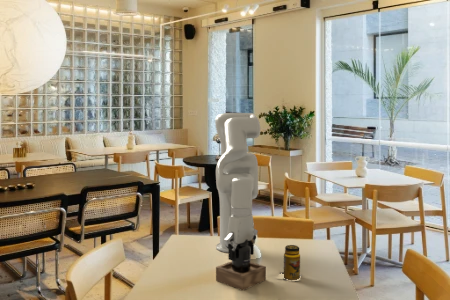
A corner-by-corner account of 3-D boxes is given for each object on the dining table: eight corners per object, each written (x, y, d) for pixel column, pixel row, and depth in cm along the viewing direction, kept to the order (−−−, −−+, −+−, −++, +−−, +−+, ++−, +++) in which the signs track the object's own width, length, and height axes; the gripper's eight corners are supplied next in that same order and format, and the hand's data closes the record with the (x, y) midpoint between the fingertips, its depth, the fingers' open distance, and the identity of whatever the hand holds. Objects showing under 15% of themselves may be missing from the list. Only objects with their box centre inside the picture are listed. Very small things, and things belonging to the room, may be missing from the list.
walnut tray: (239, 271, 191) (239, 258, 190) (265, 280, 182) (266, 266, 181) (216, 280, 181) (216, 266, 180) (242, 290, 172) (242, 276, 172)
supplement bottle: (249, 273, 177) (249, 241, 176) (230, 272, 179) (230, 240, 177) (251, 267, 184) (252, 235, 183) (233, 265, 185) (234, 234, 184)
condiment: (299, 282, 180) (299, 250, 179) (276, 279, 183) (276, 248, 181) (302, 275, 187) (302, 244, 186) (280, 272, 190) (280, 242, 188)
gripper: (249, 205, 187) (248, 249, 189) (217, 213, 175) (217, 260, 177) (264, 209, 182) (263, 253, 184) (233, 217, 170) (232, 265, 172)
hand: (241, 257), depth 180 cm, fingers open, 9 cm apart
